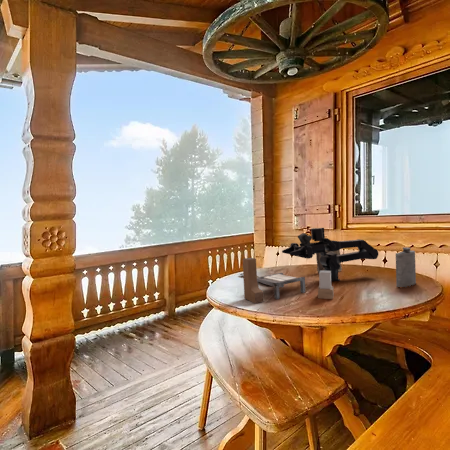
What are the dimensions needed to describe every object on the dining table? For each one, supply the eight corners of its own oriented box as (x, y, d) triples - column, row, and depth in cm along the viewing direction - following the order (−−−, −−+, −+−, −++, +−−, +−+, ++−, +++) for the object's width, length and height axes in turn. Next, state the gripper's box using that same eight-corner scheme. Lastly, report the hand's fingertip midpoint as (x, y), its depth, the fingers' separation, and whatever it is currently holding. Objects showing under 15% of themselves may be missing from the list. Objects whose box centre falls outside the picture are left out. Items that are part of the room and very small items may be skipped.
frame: (276, 299, 134) (276, 283, 134) (254, 292, 148) (253, 277, 147) (305, 292, 144) (304, 277, 143) (281, 286, 157) (281, 272, 157)
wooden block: (264, 301, 132) (262, 259, 131) (255, 303, 129) (253, 260, 129) (252, 297, 140) (250, 257, 139) (244, 299, 138) (242, 258, 137)
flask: (418, 283, 150) (417, 246, 149) (403, 288, 142) (402, 249, 141) (410, 282, 153) (409, 245, 152) (395, 287, 145) (394, 248, 144)
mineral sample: (339, 270, 191) (338, 245, 190) (343, 271, 187) (343, 246, 186) (315, 273, 186) (314, 248, 185) (319, 274, 182) (319, 248, 181)
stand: (319, 294, 139) (319, 285, 138) (333, 295, 136) (333, 286, 136) (318, 298, 133) (317, 289, 133) (332, 299, 131) (332, 289, 131)
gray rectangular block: (320, 286, 137) (320, 270, 137) (331, 286, 136) (330, 270, 135) (319, 288, 133) (319, 272, 133) (330, 289, 132) (330, 272, 131)
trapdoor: (278, 287, 137) (278, 281, 137) (261, 283, 147) (261, 277, 147) (297, 283, 144) (297, 277, 143) (279, 279, 154) (279, 273, 154)
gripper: (303, 232, 171) (277, 236, 168) (321, 233, 153) (292, 238, 150) (305, 252, 172) (279, 256, 168) (323, 256, 154) (294, 261, 150)
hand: (286, 252), depth 159 cm, fingers open, 9 cm apart
